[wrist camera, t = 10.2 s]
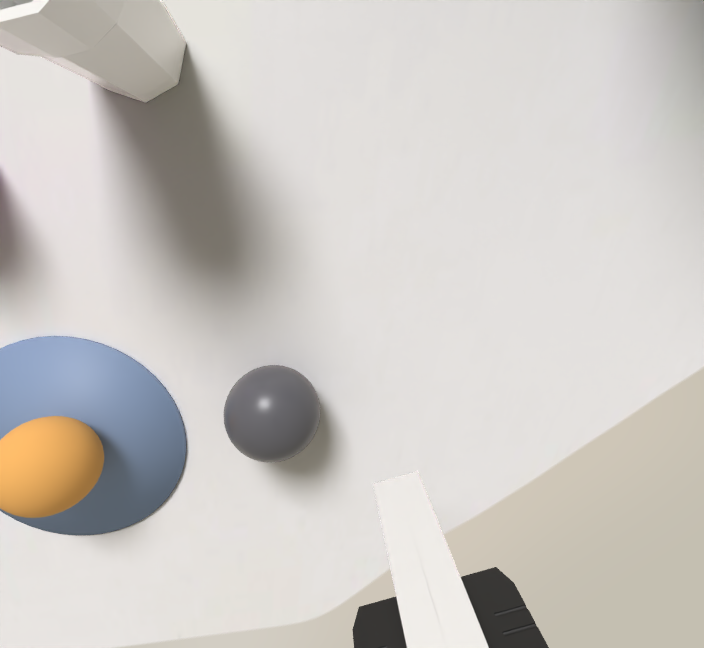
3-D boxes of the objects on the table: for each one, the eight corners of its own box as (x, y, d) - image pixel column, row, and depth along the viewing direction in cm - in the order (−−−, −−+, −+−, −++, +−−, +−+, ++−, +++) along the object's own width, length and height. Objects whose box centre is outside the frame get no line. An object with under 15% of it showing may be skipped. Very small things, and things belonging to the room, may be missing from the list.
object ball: (69, 422, 21) (90, 389, 26) (-60, 468, 19) (-11, 423, 24) (111, 509, 23) (123, 462, 28) (-5, 559, 21) (30, 499, 26)
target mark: (-94, 371, 24) (-97, 372, 24) (137, 309, 24) (135, 310, 24) (16, 556, 28) (14, 558, 28) (216, 501, 28) (215, 503, 28)
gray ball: (313, 365, 21) (287, 340, 26) (210, 414, 20) (204, 378, 25) (346, 449, 23) (317, 411, 28) (254, 500, 22) (241, 450, 27)
